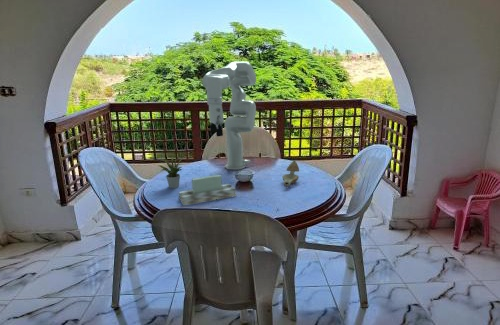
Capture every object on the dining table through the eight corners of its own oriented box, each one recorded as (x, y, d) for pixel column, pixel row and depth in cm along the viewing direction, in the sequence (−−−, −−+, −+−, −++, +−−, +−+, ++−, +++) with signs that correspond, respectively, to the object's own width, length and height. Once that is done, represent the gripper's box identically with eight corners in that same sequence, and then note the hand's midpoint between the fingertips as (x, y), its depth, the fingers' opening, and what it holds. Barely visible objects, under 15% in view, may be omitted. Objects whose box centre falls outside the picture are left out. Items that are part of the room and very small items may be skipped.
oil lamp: (301, 177, 190) (302, 160, 187) (294, 190, 170) (294, 171, 168) (286, 176, 192) (286, 159, 190) (277, 189, 173) (277, 170, 170)
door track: (229, 189, 173) (229, 183, 172) (236, 196, 164) (236, 189, 163) (178, 197, 163) (178, 191, 162) (183, 205, 155) (183, 198, 154)
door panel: (220, 191, 167) (219, 174, 165) (222, 193, 165) (221, 176, 163) (193, 196, 162) (191, 178, 160) (194, 198, 160) (193, 180, 157)
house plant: (179, 179, 189) (177, 151, 185) (194, 185, 180) (192, 155, 175) (156, 186, 180) (153, 156, 175) (170, 192, 170) (168, 161, 166)
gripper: (227, 102, 164) (229, 136, 169) (216, 98, 179) (218, 130, 184) (212, 103, 161) (215, 138, 167) (202, 99, 176) (204, 131, 182)
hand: (216, 134), depth 176 cm, fingers open, 9 cm apart
